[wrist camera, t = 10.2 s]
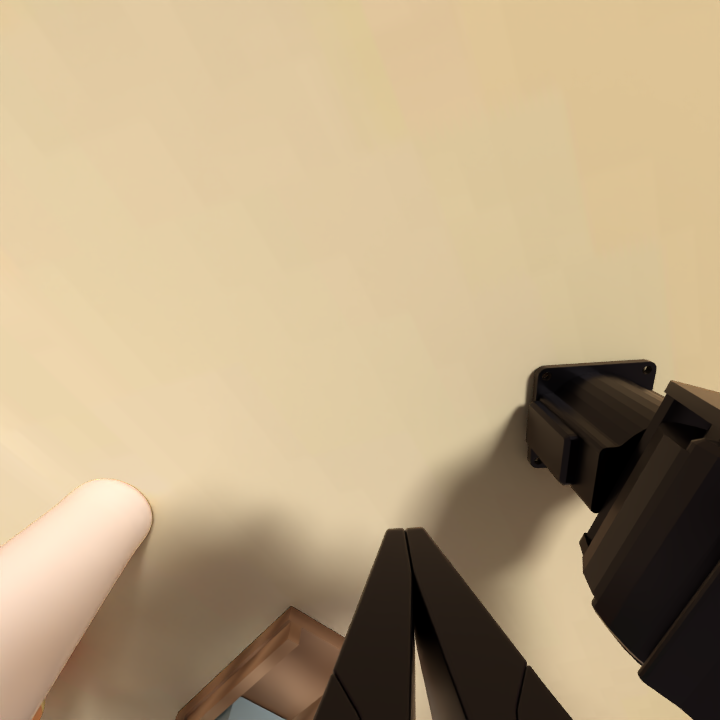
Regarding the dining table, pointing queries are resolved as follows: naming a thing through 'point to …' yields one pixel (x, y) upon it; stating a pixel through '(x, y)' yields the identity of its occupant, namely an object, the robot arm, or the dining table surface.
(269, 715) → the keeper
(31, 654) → the drinking glass
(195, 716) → the track
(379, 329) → the dining table surface
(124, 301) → the dining table surface
